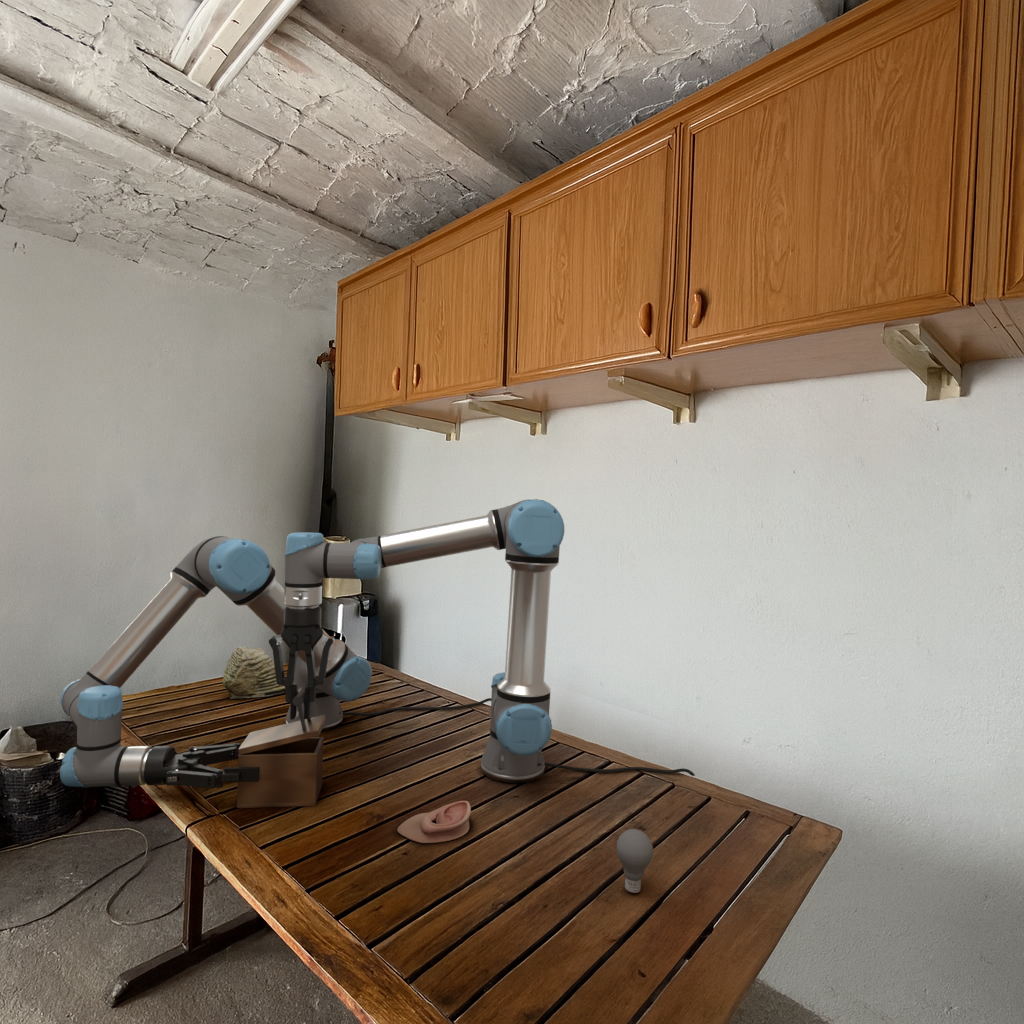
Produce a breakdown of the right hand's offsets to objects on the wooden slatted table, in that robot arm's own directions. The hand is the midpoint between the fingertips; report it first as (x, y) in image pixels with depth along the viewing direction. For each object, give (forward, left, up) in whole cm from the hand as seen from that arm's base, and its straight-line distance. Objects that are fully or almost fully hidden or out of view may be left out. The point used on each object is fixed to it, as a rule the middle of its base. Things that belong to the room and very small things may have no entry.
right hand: (300, 716), depth 133 cm
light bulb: (-52, +49, -17) cm, 73 cm away
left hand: (+7, -1, -10) cm, 12 cm away
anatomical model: (-25, +21, -17) cm, 36 cm away
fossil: (+11, -73, -17) cm, 75 cm away
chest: (+3, -1, -17) cm, 17 cm away
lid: (+3, -1, -4) cm, 5 cm away
